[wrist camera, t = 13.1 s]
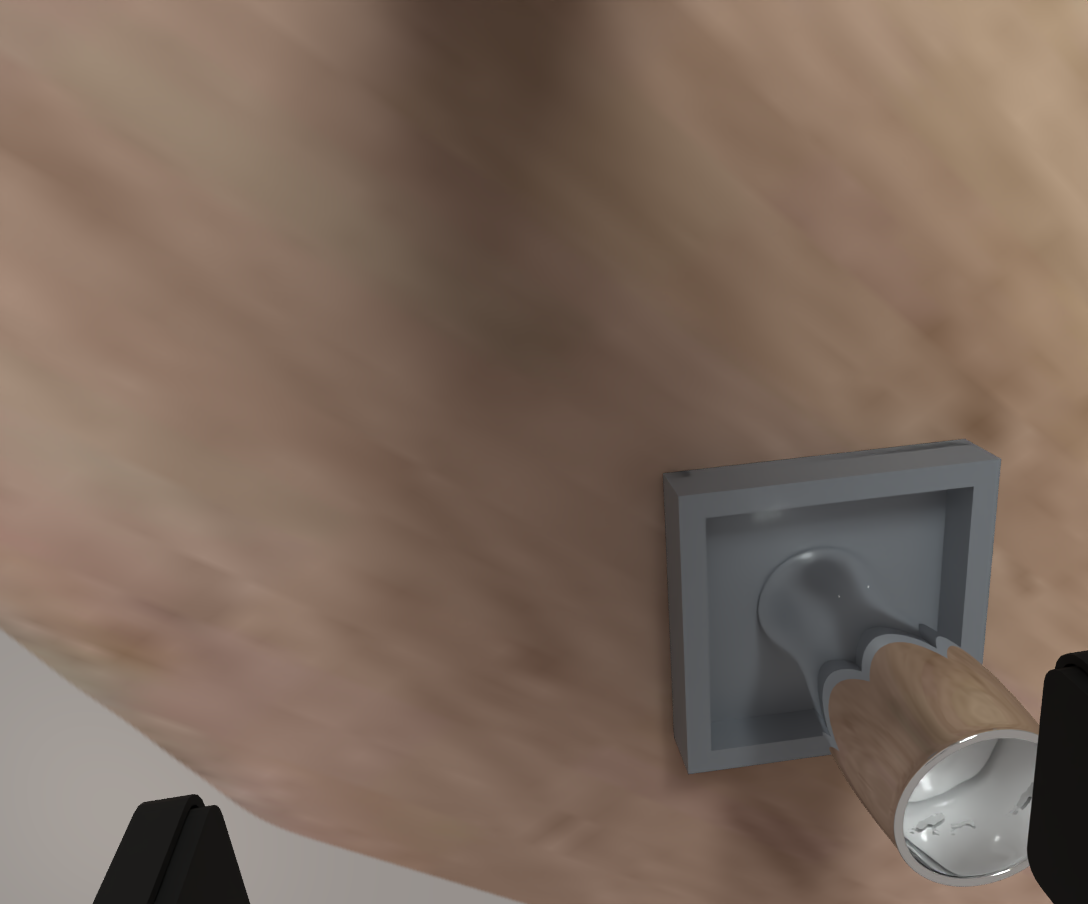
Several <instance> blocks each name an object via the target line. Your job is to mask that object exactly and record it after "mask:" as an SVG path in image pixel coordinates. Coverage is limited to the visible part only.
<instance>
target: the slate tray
mask: <svg viewBox="0 0 1088 904" xmlns="http://www.w3.org/2000/svg"><path fill="white" fill-rule="evenodd" d="M1000 466H1001V459H1000V458H999V457H997V456H995V455H993V454H991V453H990V452H988V451H986V450H984V449H982V448H981V447H979V446H977V445H975V444H973V443H972V442H970V441H968V440H966V439H960V440H951V441H943V442H934V443H925V444H916V445H908V446H899V447H890V448H881V449H873V450H864V451H855V452H846V453H837V454H829V455H820V456H811V457H802V458H794V459H785V460H776V461H767V462H759V463H750V464H741V465H732V466H724V467H715V468H706V469H697V470H689V471H680V472H671V473H663V483H664V507H665V531H666V555H667V579H668V603H669V627H670V651H671V675H672V699H673V724H674V738H675V741H676V743H677V746H678V748H679V751H680V754H681V756H682V759H683V762H684V764H685V767H686V769H687V772H688V774H693V773H700V772H708V771H715V770H722V769H729V768H737V767H744V766H751V765H758V764H766V763H773V762H780V761H787V760H795V759H802V758H809V757H816V756H824V755H831V752H830V750H829V748H828V745H827V743H826V741H825V739H824V736H823V734H822V732H821V729H820V727H819V724H818V721H817V718H816V716H815V713H814V710H813V707H812V704H811V701H810V698H809V695H808V692H807V689H806V687H805V684H804V681H803V679H802V676H801V674H800V673H799V671H798V669H797V668H796V666H795V665H794V664H793V663H792V662H791V661H790V660H789V659H788V658H787V657H786V656H784V655H783V654H782V653H781V652H780V651H779V650H777V649H776V648H775V647H774V646H773V645H772V644H771V643H770V641H769V640H768V639H767V637H766V636H765V634H764V633H763V630H762V628H761V625H760V622H759V616H758V604H759V598H760V594H761V592H762V589H763V587H764V585H765V583H766V581H767V580H768V578H769V577H770V576H771V574H772V573H773V572H774V571H775V570H776V569H777V568H778V567H779V566H780V565H781V564H782V563H784V562H785V561H786V560H788V559H789V558H791V557H793V556H795V555H797V554H799V553H801V552H804V551H807V550H811V549H816V548H835V549H840V550H843V551H846V552H848V553H851V554H853V555H854V556H856V557H858V558H859V559H860V560H861V561H863V562H864V563H865V564H866V566H867V567H868V568H869V569H870V571H871V572H872V574H873V575H874V577H875V579H876V580H877V582H878V584H879V586H880V588H881V590H882V592H883V593H884V595H885V596H886V597H887V599H888V600H889V601H890V602H891V603H893V604H894V605H895V606H896V607H898V608H899V609H901V610H902V611H904V612H905V613H907V614H909V615H910V616H912V617H914V618H915V619H917V620H919V621H920V622H922V623H924V624H925V625H927V626H929V627H930V628H932V629H934V630H935V631H937V632H938V633H940V634H942V635H943V636H945V637H946V638H948V639H949V640H951V641H952V642H954V643H955V644H956V645H958V646H959V647H961V648H962V649H964V650H965V651H966V652H968V653H969V654H970V655H972V656H973V657H974V658H975V659H976V660H977V661H979V662H980V663H981V664H982V663H983V652H984V641H985V630H986V619H987V608H988V598H989V587H990V576H991V565H992V554H993V543H994V532H995V521H996V510H997V499H998V488H999V477H1000Z"/></svg>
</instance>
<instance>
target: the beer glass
mask: <svg viewBox="0 0 1088 904" xmlns="http://www.w3.org/2000/svg"><path fill="white" fill-rule="evenodd" d="M758 616H759V622H760V625H761V628H762V630H763V633H764V634H765V636H766V637H767V639H768V640H769V641H770V643H771V644H772V645H773V646H774V647H775V648H776V649H777V650H779V651H780V652H781V653H782V654H783V655H784V656H786V657H787V658H788V659H789V660H790V661H791V662H792V663H793V664H794V665H795V666H796V668H797V669H798V671H799V673H800V674H801V676H802V679H803V681H804V684H805V687H806V689H807V692H808V695H809V698H810V701H811V704H812V707H813V710H814V713H815V716H816V718H817V721H818V724H819V727H820V729H821V732H822V734H823V736H824V739H825V741H826V743H827V745H828V748H829V750H830V752H831V754H832V756H833V758H834V760H835V762H836V763H837V765H838V767H839V769H840V770H841V772H842V774H843V776H844V777H845V779H846V781H847V782H848V784H849V785H850V787H851V788H852V790H853V791H854V793H855V794H856V796H857V797H858V798H859V800H860V801H861V803H862V804H863V806H864V807H865V808H866V810H867V811H868V812H869V814H870V815H871V816H872V818H873V819H874V820H875V822H876V823H877V824H878V825H879V827H880V828H881V829H882V830H883V832H884V833H885V834H886V835H887V837H888V838H889V839H890V840H891V842H892V843H893V844H894V846H895V847H896V848H897V850H898V851H899V853H900V855H901V856H902V858H903V859H904V861H905V862H906V863H907V864H908V865H909V866H910V867H911V868H912V869H913V870H914V871H915V872H917V873H918V874H919V875H921V876H923V877H924V878H926V879H929V880H931V881H933V882H936V883H940V884H944V885H949V886H959V887H968V886H979V885H984V884H989V883H993V882H996V881H1000V880H1002V879H1005V878H1007V877H1010V876H1012V875H1014V874H1016V873H1018V872H1020V871H1022V870H1024V869H1025V868H1027V867H1028V866H1030V865H1029V862H1028V857H1027V841H1028V831H1029V822H1030V812H1031V802H1032V793H1033V783H1034V773H1035V764H1036V754H1037V744H1038V735H1039V724H1038V723H1037V721H1036V720H1035V719H1034V718H1033V717H1032V716H1031V714H1030V713H1029V712H1028V711H1027V710H1026V709H1025V708H1024V706H1023V705H1022V704H1021V703H1020V702H1019V701H1018V700H1017V698H1016V697H1015V696H1014V695H1013V694H1012V693H1011V692H1010V691H1009V690H1008V689H1007V688H1006V687H1005V686H1004V685H1003V684H1002V683H1001V682H1000V681H999V680H998V679H997V678H996V677H995V676H994V675H993V674H992V673H991V672H990V671H989V670H988V669H986V668H985V667H984V666H983V665H982V664H981V663H980V662H979V661H977V660H976V659H975V658H974V657H973V656H972V655H970V654H969V653H968V652H966V651H965V650H964V649H962V648H961V647H959V646H958V645H956V644H955V643H954V642H952V641H951V640H949V639H948V638H946V637H945V636H943V635H942V634H940V633H938V632H937V631H935V630H934V629H932V628H930V627H929V626H927V625H925V624H924V623H922V622H920V621H919V620H917V619H915V618H914V617H912V616H910V615H909V614H907V613H905V612H904V611H902V610H901V609H899V608H898V607H896V606H895V605H894V604H893V603H891V602H890V601H889V600H888V599H887V597H886V596H885V595H884V593H883V592H882V590H881V588H880V586H879V584H878V582H877V580H876V579H875V577H874V575H873V574H872V572H871V571H870V569H869V568H868V567H867V566H866V564H865V563H864V562H863V561H861V560H860V559H859V558H858V557H856V556H854V555H853V554H851V553H848V552H846V551H843V550H840V549H835V548H816V549H811V550H807V551H804V552H801V553H799V554H797V555H795V556H793V557H791V558H789V559H788V560H786V561H785V562H784V563H782V564H781V565H780V566H779V567H778V568H777V569H776V570H775V571H774V572H773V573H772V574H771V576H770V577H769V578H768V580H767V581H766V583H765V585H764V587H763V589H762V592H761V594H760V598H759V604H758Z"/></svg>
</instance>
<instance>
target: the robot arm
mask: <svg viewBox="0 0 1088 904" xmlns="http://www.w3.org/2000/svg"><path fill="white" fill-rule="evenodd" d="M1027 857H1028V862H1029V865H1030V868H1031V871H1032V873H1033V875H1034V877H1035V879H1036V881H1037V882H1038V884H1039V885H1040V887H1041V888H1042V889H1043V891H1044V892H1045V893H1046V894H1047V896H1048V897H1049V898H1050V900H1051V901H1052V902H1053V904H1088V650H1087V651H1081V652H1075V653H1068V654H1065V655H1062V656H1061V657H1060V658H1059V659H1058V661H1057V662H1056V666H1055V669H1053V670H1050V671H1048V673H1047V674H1046V676H1045V680H1044V687H1043V696H1042V706H1041V716H1040V725H1039V735H1038V744H1037V754H1036V764H1035V773H1034V783H1033V793H1032V802H1031V812H1030V822H1029V831H1028V841H1027ZM93 904H250V902H249V899H248V895H247V893H246V889H245V886H244V883H243V879H242V876H241V873H240V870H239V866H238V863H237V860H236V857H235V854H234V850H233V847H232V844H231V841H230V837H229V834H228V831H227V828H226V825H225V821H224V818H223V815H222V813H221V810H220V808H219V807H218V806H216V805H212V806H205V805H204V803H203V800H202V799H201V798H200V797H199V796H198V795H195V794H192V795H186V796H180V797H173V798H167V799H161V800H155V801H148V802H143V803H142V804H140V805H139V806H138V808H137V809H136V811H135V813H134V814H133V817H132V819H131V821H130V823H129V825H128V827H127V830H126V832H125V834H124V836H123V838H122V841H121V843H120V845H119V847H118V849H117V852H116V854H115V856H114V858H113V860H112V862H111V865H110V867H109V869H108V871H107V873H106V876H105V878H104V880H103V882H102V884H101V887H100V889H99V891H98V893H97V895H96V897H95V900H94V902H93Z"/></svg>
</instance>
